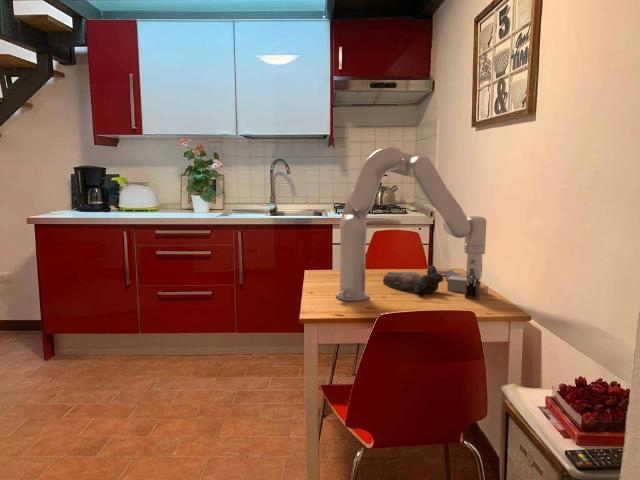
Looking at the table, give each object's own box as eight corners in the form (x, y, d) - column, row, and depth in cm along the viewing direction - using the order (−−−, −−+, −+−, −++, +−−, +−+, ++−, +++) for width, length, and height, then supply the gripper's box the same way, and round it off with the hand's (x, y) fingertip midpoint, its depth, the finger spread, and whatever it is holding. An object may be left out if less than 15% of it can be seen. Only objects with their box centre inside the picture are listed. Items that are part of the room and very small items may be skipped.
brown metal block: (478, 299, 179) (479, 284, 178) (464, 298, 181) (465, 282, 180) (479, 296, 184) (480, 281, 183) (466, 295, 186) (467, 280, 185)
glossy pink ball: (487, 295, 185) (487, 288, 185) (476, 294, 187) (476, 287, 186) (488, 293, 189) (488, 285, 188) (477, 292, 190) (478, 284, 190)
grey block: (465, 292, 190) (465, 280, 189) (447, 290, 193) (447, 278, 192) (467, 289, 196) (468, 277, 195) (450, 287, 199) (450, 275, 198)
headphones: (441, 282, 202) (472, 284, 213) (443, 269, 202) (474, 271, 213) (412, 275, 217) (443, 277, 228) (414, 262, 217) (445, 265, 227)
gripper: (482, 253, 171) (480, 299, 173) (487, 246, 186) (485, 289, 189) (461, 252, 174) (459, 297, 176) (467, 245, 189) (465, 287, 192)
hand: (472, 293), depth 182 cm, fingers open, 9 cm apart
